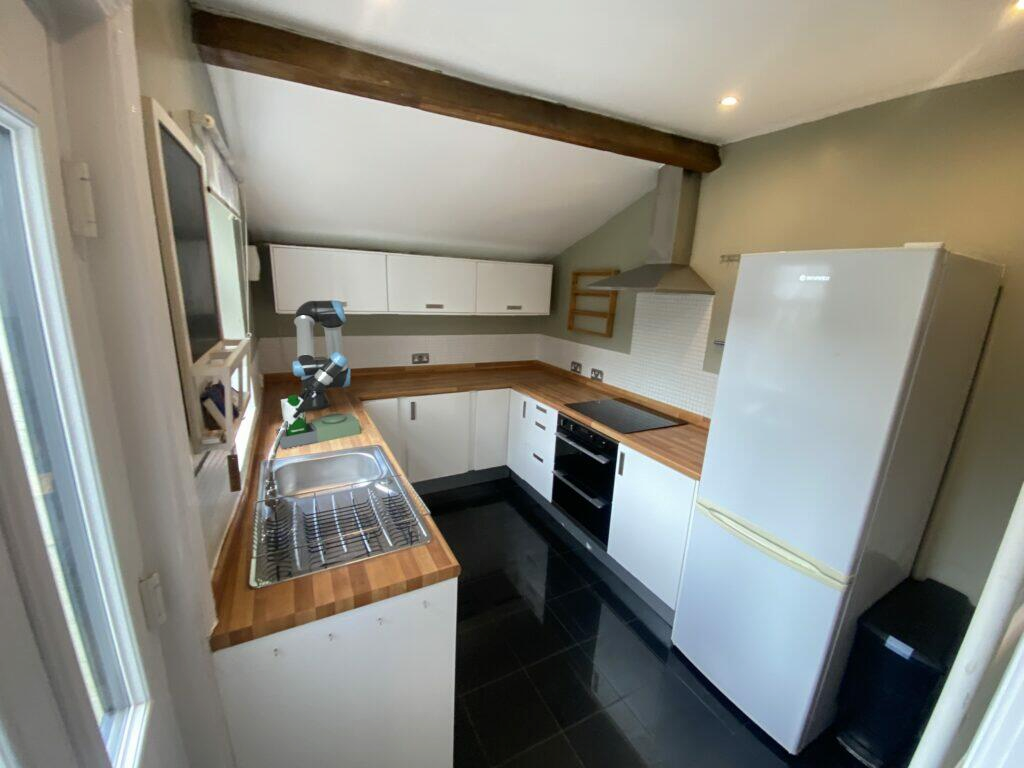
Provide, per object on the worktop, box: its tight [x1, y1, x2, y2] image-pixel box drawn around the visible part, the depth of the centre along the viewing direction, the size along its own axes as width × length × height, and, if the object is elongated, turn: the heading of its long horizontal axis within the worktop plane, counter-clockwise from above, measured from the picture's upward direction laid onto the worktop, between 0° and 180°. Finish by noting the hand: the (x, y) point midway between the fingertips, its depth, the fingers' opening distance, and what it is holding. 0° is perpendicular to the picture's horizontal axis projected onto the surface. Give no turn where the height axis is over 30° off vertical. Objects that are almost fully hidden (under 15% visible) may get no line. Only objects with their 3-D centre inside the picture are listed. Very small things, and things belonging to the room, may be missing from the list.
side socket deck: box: [275, 412, 361, 450], centre depth 192 cm, size 34×15×9 cm, turn 127°
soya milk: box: [280, 394, 308, 436], centre depth 184 cm, size 9×9×20 cm
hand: (286, 420), depth 183 cm, fingers closed on soya milk, 9 cm apart
